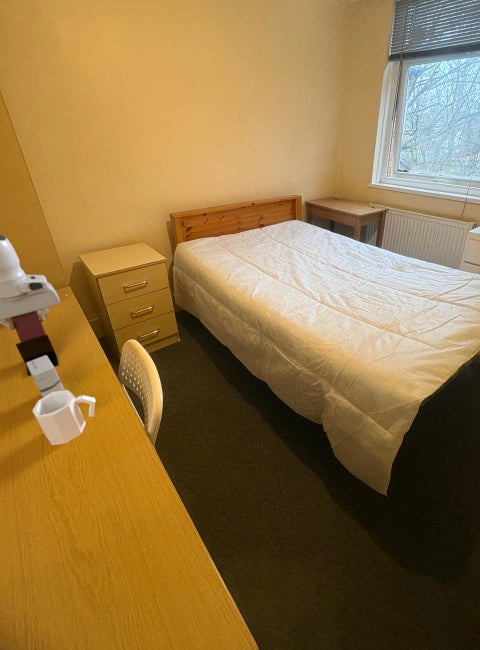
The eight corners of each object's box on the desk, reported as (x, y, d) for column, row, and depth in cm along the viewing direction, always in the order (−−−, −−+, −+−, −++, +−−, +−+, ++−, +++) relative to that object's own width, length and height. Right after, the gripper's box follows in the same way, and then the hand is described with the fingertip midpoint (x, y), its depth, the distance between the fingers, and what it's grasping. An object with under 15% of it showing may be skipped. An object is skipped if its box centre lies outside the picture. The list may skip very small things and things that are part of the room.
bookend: (26, 366, 102) (15, 343, 98) (57, 356, 107) (47, 334, 102) (27, 376, 98) (15, 353, 94) (58, 365, 103) (48, 342, 99)
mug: (46, 451, 76) (31, 423, 72) (47, 426, 83) (33, 398, 78) (103, 427, 82) (92, 400, 78) (100, 405, 89) (89, 379, 84)
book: (10, 313, 102) (9, 314, 100) (35, 307, 106) (34, 307, 103) (29, 359, 105) (28, 361, 103) (53, 352, 109) (52, 353, 106)
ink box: (69, 399, 90) (55, 367, 85) (49, 410, 87) (32, 377, 81) (60, 384, 95) (46, 353, 90) (40, 393, 92) (24, 362, 87)
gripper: (-39, 301, 87) (-16, 341, 94) (52, 280, 99) (66, 318, 105) (-37, 292, 92) (-16, 331, 98) (50, 274, 103) (64, 310, 110)
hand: (27, 324), depth 102 cm, fingers closed on book, 6 cm apart
